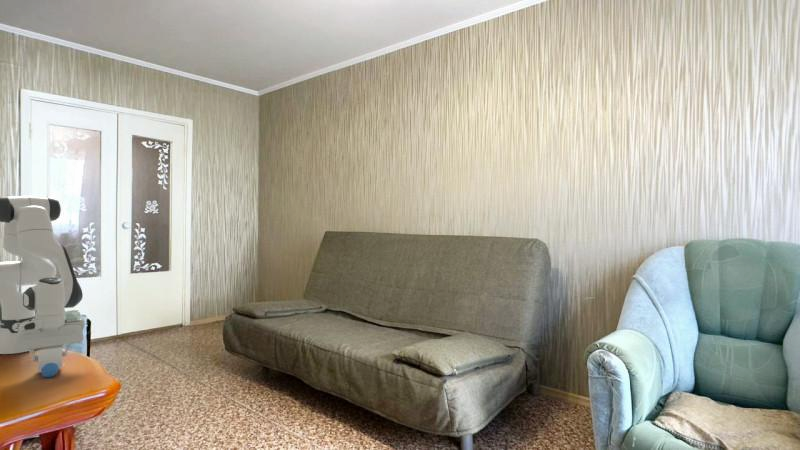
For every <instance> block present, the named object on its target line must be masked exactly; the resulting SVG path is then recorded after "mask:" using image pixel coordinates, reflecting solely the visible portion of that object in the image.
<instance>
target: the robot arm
mask: <svg viewBox="0 0 800 450" xmlns="http://www.w3.org/2000/svg"><path fill="white" fill-rule="evenodd" d="M61 213H62V206H61V204H60V202H59V200H58V199H57V198H55V197H51V196H40V195H39V196H38V195H23V196H22V195H16V196H15V195H14V196H13V195H12V196H8V195H5V196H4V195H3V196H0V223H4V225H3V226H4V227H3V245H2V247H3V249H4V250H5V251H6V253H8V254H10V255H13V256H17V257H18V258H21V260H12V261H0V307H1V319H0V355H13V354H21V353H26V352H28V353H29V354H30V355H31V356H32V361H33V362H34V361H38V354H36V353H35V350H38V348H44V347H52V346H59V345H62V346H65V350H62V358H63V357H67V356H68V352H69V350H70V348H71V345H73V344H80V343H82V342H83V341H84V331H83V329H85V321H84V320H83V319H81V318H74V319H73V318H72V319H66V309H69V308H70V309H73V308H74V307H76V306H78V305H79V303H81V301H82V300H83V290H82V287H81V285H80V283H79V281H78V278H77V277H76V272H75V271H74V268H73V263H72V261H71V259H70V255H69V252H68V251H67V249H66V248H65V245H63V244H61V243H59V242H58V240H57V238H55V235H54V230H53V225H52V224H53V223H52V222H54V221H57V219H59V218H60V216H61ZM55 265H56V266H55ZM57 269H58V273H59V276H60V278H58V277H56V275H57ZM22 286H29V287H28V288H26V289H25V290H24V292H20V291H19V290H18V287H22Z"/></svg>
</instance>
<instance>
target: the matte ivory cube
mask: <svg viewBox="0 0 800 450" xmlns="http://www.w3.org/2000/svg"><path fill="white" fill-rule="evenodd" d="M62 351H63V345H59V346H52V347H44V348H37V355H38V360H37V372H41V369H42V368H43V366H45V365H46V364H48V363H54V364H56V365H57V366H58V368H59V369H62V368H63V357H62Z"/></svg>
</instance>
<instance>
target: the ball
mask: <svg viewBox="0 0 800 450" xmlns="http://www.w3.org/2000/svg"><path fill="white" fill-rule="evenodd" d="M59 369H60V368H58V366H57V365H56V364H54V363H48V364H46V365H45V366H43V368H42V369H41V371H40V373H41V375H42V377H44V378H53V377H55V376H56V375H57V374H58V373H59Z"/></svg>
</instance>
